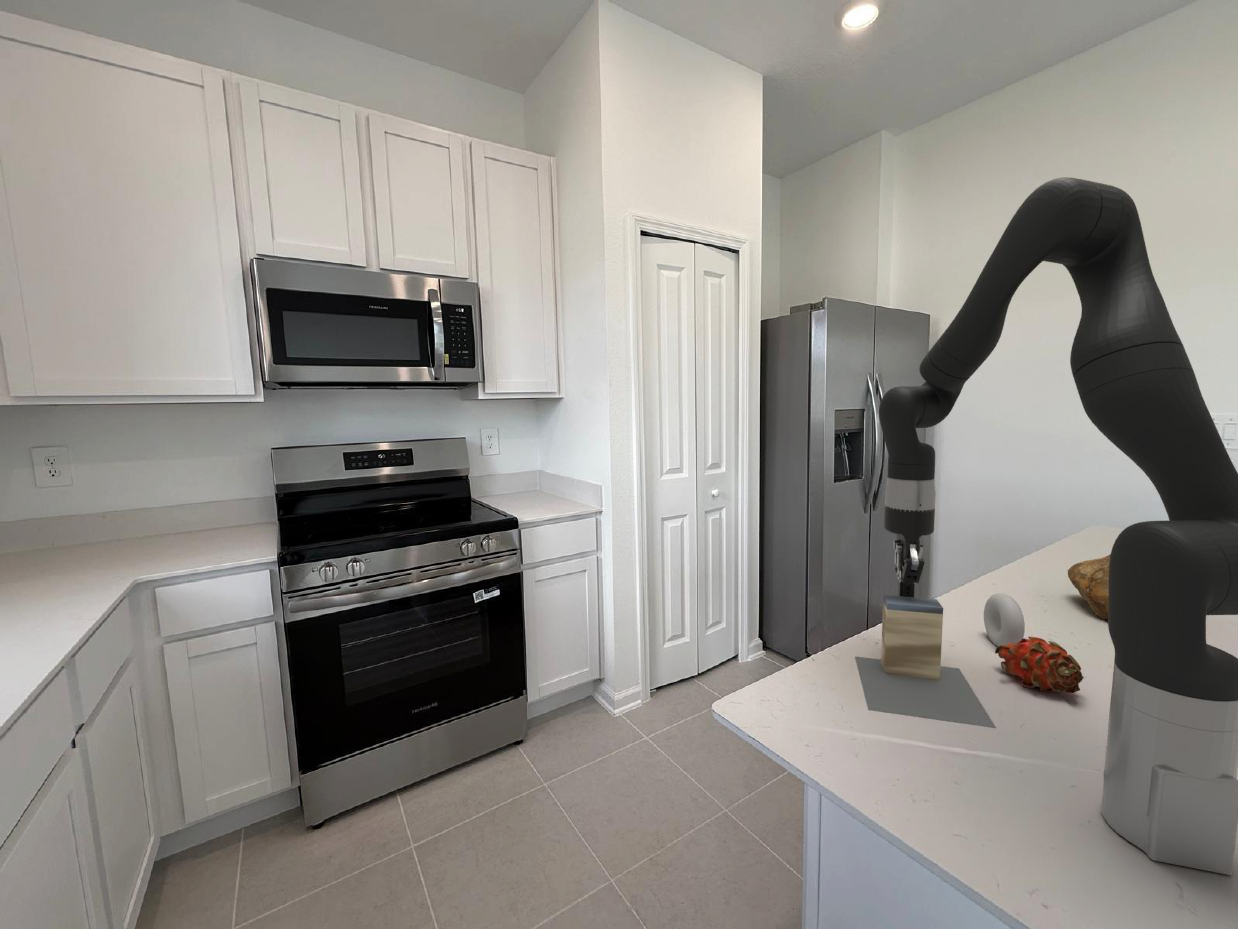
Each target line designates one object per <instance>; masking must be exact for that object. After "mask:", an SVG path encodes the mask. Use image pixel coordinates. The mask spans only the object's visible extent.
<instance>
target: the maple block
mask: <svg viewBox="0 0 1238 929" xmlns="http://www.w3.org/2000/svg"><path fill="white" fill-rule="evenodd" d="M882 595H883V596H882V599H883V600H882V618H881V619H882V620H881V627H882V628H881V648H880V651H881V652H880V659H881V664H882V667H883V670H884V672H885V673H886V674H894V675H903V676H911V677H919V678H927V679H936V680H940V666H942V663H941V661H942V645H943V644H942V642H943V625H944V623H943V621H944V607H943V605H941V602H939V600H938V599H937V598H924V597H915V596H914V597H903V596H898V595H888V594H882Z"/></svg>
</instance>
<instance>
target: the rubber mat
mask: <svg viewBox="0 0 1238 929" xmlns="http://www.w3.org/2000/svg"><path fill="white" fill-rule="evenodd" d="M854 658H855V662H856V666H857V670H858V674H859V678H860V682H861V686H862V689H863V694H864V698H865V702H866V706H867V710H868V711H874V712H880V713H887V714H892V715H893V714H894V715H902V716H907V717H908V716H910V717H913V718H923V719H930V720H937V721H943V722H950V723H957V724H965V725H971V726H980V727H985V728H986V727H987V728H994V729H996V728H997V727H996V725H995V723H994V722H993V720H992V719H991V717H990V715H989V714H988V712H987V711H986V709H985V708H984V707H983V704H982V703H981V701H980V700H979V698H978V696H977V695H976V693H975V691H974V689H972V687H971V685H970V683H968V680H967V679H966V677H965V676H964V674H963V673H962V671H961V669H960V668H958V667H950V666H942V665H940V680H936V679H927V678H919V677H911V676H903V675H894V674H886V673H885V672H884V670H883V667H882V664H881V658H874V657H873V658H871V657H865V656H864V657H863V656H861V657H860V656H855V657H854Z"/></svg>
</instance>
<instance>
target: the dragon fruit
mask: <svg viewBox="0 0 1238 929" xmlns="http://www.w3.org/2000/svg"><path fill="white" fill-rule="evenodd" d="M993 652H994V654H995V655H996V654H997V655H998V657H999V658H1000V659H1003V661H1000V667H1001V669H1002V672H1003V673H1004V674H1009V675H1012V676H1013V675H1014V676H1018V677H1019V678H1020V679H1022V680H1021V682H1020V683H1021V685H1022V687H1025V688H1028V689H1035V688H1037V687H1038V688H1039V689H1040V691H1042V692H1043V691H1044V692H1045V691H1046V692H1047V693H1049V694H1051V693H1063V692H1065V693H1069V694H1074V693H1077V692H1081V689H1080V686H1079V685H1080V683H1081V682H1082V681H1083V680H1084V679H1085V677H1084V675H1083V673H1082V671H1081V670H1082V667H1081V665H1080V664H1079V662H1078V661H1077V659H1075V657H1074V656H1073V655H1071V654H1068V652H1067V650H1066V649H1065V648H1064V647H1062V646H1061V645H1060V644H1059V643H1057V642H1055V641H1051V640H1049V641H1048V642H1047V640H1045V639H1043V638H1041V637H1037V636H1036V637H1035V636H1028V637H1027V638H1023V639H1022V640H1021V641H1020V642H1019V643H1016V644H1015V643H1010V644H1007V645H1001V646H999V647H998V646H997V647H996V648H995V649H994V650H993V651H992V653H993Z"/></svg>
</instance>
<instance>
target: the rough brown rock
mask: <svg viewBox="0 0 1238 929" xmlns="http://www.w3.org/2000/svg"><path fill="white" fill-rule="evenodd" d="M1110 555H1111V553H1110V554H1108V555H1106V556H1103V557H1100V558H1096V559H1095V558H1094V559H1090V560H1089V559H1088V560H1083V561H1080V562H1077V563H1075V564H1073V565H1071V566H1070V567H1069V568H1068V569H1067V577H1068V579H1069V582H1071V585H1073V587H1074V588H1075V589H1076V590H1077V591H1078V593H1079V595H1080V596H1081V597H1082V599H1083V600H1084V601H1086V602H1087V603H1088V606H1089V607H1090V608H1091V610H1092V611H1093V613H1094V614H1095V615H1096V616H1097V617H1099V618H1100V619H1102V620H1105V621H1106V620H1108V593H1109V562H1110Z"/></svg>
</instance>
